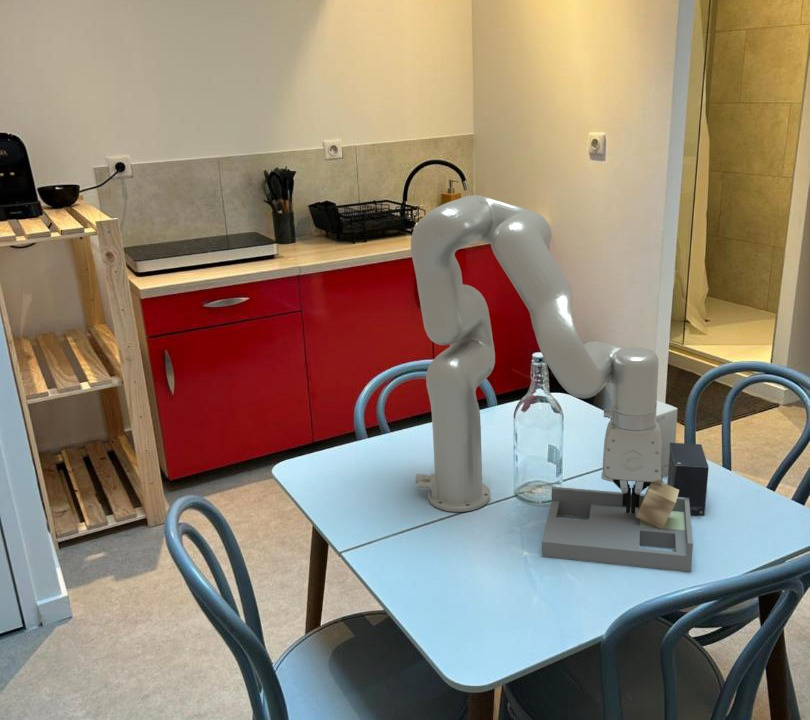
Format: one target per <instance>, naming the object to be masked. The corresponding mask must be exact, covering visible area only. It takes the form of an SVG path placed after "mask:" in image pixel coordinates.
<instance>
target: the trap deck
mask: <svg viewBox="0 0 810 720" xmlns="http://www.w3.org/2000/svg"><path fill="white" fill-rule="evenodd" d="M644 495H645V493H641V494H640V500H639V506H640V504H641V502H642V499H643V497H644ZM631 499H632V492H631ZM622 503H623V493H622V492H620V491H608V490H596V489H595V490H594V489H583V488H572V487H570V488H569V487H558V486H551V502H550V504H549V506H550V507H549V509H548V515H547V518H546V523H545V526H544V527H545V528H544V531H543V536H542V539H541V557H543V558H544V557H545V558H551V559H553V558H554V559H563V560H570V559H571V561H572V560H573V561H580V560H581V562H582V561H583V562H590V563H591V562H592V563H598V564H599V563H601V564H608V565H609V564H610V565H618V566H619V565H620V566H629V567H639V568H649V569H658V570H659V569H660V570H667V571H668V570H669V571H675V572H676V571H677V572H678V571H679V572H685V573H686V572H687V573H692V561H693V548H694V547H693V546H694V539H693V530H692V529H693V528H692V517H691V516H692V515H690V504H689V498H685V497H677V500H676V503H675V505H674V507H673V509H672V511H671V513H670V515H669V517H668V519H667V521H666V523H665V525H664V527H663V529H660V528H658V527H656V526H654V525H652V524H650V523H648V522H646V521H643V520H641V519H639V518H637V517H636V515H637V512H638V509H639V507H635V514H633V513H631V505H630V512H629V513H626V506H622ZM560 516H562V517H560ZM563 516H564V517H563ZM571 517H573V518H571ZM574 517H575V518H574ZM576 517H577V518H576ZM580 518H583V519H580ZM584 518H585V519H584ZM586 518H588V519H586ZM640 546H643V547H644V546H647V547H656V548H667V549H674V551H669V550H661V549H660V550H659V549H650V548H649V549H648V548H641V547H640Z"/></svg>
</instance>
